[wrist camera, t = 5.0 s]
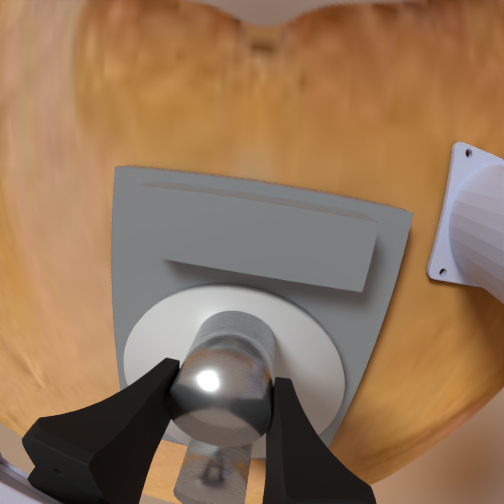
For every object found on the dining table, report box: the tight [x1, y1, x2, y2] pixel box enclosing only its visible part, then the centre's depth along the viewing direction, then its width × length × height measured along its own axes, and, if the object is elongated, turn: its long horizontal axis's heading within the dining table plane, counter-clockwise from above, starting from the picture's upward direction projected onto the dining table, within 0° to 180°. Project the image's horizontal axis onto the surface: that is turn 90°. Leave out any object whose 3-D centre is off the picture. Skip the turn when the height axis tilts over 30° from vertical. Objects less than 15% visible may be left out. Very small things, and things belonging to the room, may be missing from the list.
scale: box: [111, 165, 413, 460], centre depth 17 cm, size 15×19×4 cm
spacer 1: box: [166, 311, 276, 447], centre depth 13 cm, size 4×4×5 cm
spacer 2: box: [173, 437, 253, 504], centre depth 16 cm, size 4×4×5 cm
